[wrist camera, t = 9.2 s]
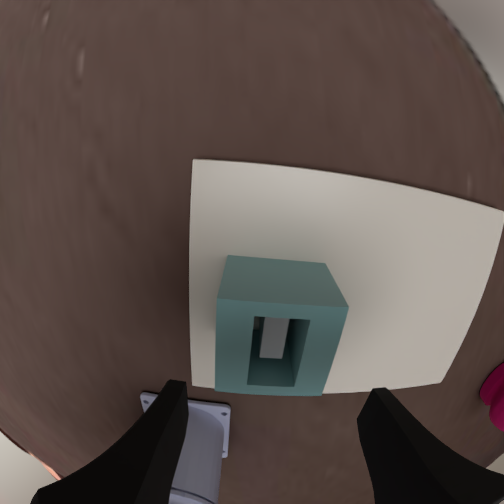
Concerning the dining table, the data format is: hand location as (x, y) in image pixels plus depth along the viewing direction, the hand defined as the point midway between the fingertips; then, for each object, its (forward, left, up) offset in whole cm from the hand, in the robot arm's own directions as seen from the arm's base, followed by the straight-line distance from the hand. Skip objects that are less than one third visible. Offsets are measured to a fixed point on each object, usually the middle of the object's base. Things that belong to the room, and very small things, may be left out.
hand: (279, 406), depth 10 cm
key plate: (0, -6, -9) cm, 11 cm away
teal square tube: (0, 0, -8) cm, 8 cm away
